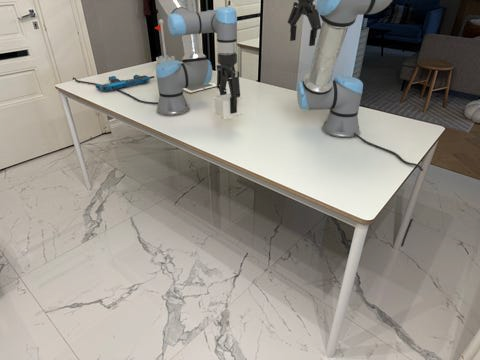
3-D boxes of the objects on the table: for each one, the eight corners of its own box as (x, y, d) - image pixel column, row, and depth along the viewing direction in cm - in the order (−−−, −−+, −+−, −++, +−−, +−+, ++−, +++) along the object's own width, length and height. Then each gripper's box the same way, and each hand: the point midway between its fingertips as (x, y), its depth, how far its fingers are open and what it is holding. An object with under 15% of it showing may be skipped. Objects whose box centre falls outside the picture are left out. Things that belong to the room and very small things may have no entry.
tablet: (161, 80, 212) (161, 79, 212) (189, 74, 223) (188, 73, 223) (190, 93, 191) (190, 92, 191) (218, 85, 203) (218, 85, 202)
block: (242, 114, 142) (242, 97, 138) (223, 119, 138) (223, 101, 134) (233, 109, 148) (233, 92, 144) (215, 113, 144) (214, 96, 140)
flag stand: (173, 62, 249) (168, 17, 233) (177, 66, 239) (172, 20, 223) (155, 64, 245) (149, 18, 229) (158, 68, 235) (152, 21, 219)
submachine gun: (140, 69, 223) (158, 75, 206) (141, 75, 225) (159, 81, 208) (87, 79, 204) (103, 87, 188) (89, 85, 206) (105, 94, 190)
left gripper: (250, 56, 124) (249, 115, 136) (222, 46, 138) (224, 100, 151) (232, 59, 121) (233, 119, 133) (206, 49, 135) (209, 104, 148)
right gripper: (334, -8, 138) (326, 46, 150) (295, -12, 156) (291, 37, 168) (320, -7, 135) (314, 48, 147) (282, -11, 153) (279, 39, 165)
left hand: (228, 109), depth 142 cm, fingers closed on block, 7 cm apart
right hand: (302, 43), depth 157 cm, fingers open, 13 cm apart
